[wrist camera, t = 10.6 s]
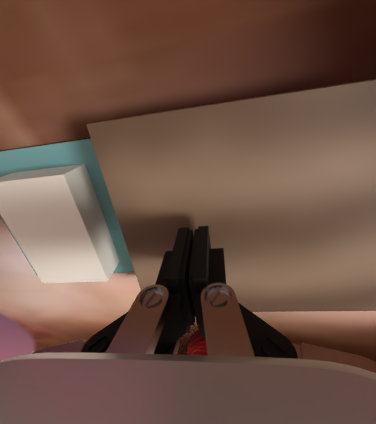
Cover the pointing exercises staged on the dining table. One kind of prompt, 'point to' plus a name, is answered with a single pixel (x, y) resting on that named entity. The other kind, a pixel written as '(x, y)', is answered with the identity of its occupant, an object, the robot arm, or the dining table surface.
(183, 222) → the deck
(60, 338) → the dining table surface
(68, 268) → the cream rectangular block
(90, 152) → the mat
